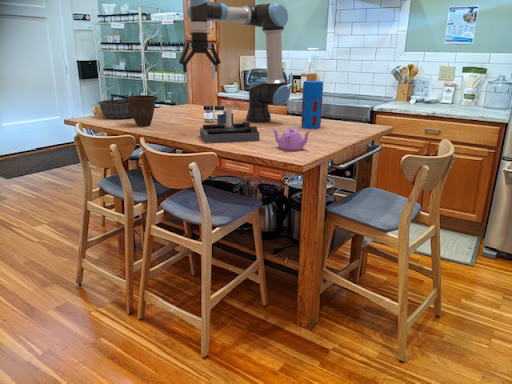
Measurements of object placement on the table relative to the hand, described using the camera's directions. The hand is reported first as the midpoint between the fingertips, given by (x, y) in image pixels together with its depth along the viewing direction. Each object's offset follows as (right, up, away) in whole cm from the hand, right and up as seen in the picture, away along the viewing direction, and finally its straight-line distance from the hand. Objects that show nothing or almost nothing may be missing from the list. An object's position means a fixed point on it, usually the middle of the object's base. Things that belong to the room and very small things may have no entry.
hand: (200, 79), depth 199 cm
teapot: (+42, -35, -15) cm, 57 cm away
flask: (+10, -21, +23) cm, 33 cm away
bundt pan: (-58, -7, +62) cm, 85 cm away
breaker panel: (+13, -28, +4) cm, 31 cm away
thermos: (+58, -18, +34) cm, 69 cm away
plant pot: (-37, -17, +34) cm, 53 cm away
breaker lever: (+14, -23, +3) cm, 27 cm away
